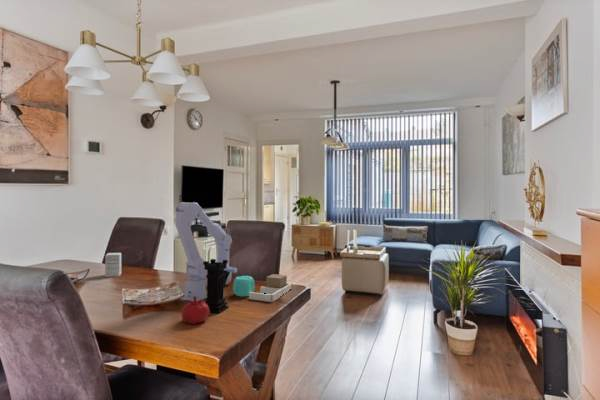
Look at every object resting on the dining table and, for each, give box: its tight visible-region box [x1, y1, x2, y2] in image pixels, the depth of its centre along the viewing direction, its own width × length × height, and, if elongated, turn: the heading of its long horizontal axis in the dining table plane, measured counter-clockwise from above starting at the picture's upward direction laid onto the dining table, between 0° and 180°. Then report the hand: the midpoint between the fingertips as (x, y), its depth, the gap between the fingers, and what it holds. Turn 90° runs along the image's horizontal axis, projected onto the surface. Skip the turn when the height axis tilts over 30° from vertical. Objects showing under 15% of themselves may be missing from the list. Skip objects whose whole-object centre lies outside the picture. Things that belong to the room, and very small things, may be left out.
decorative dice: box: [232, 275, 256, 298], centre depth 168 cm, size 8×8×8 cm
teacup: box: [225, 272, 233, 286], centre depth 187 cm, size 14×11×8 cm
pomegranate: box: [180, 296, 211, 325], centre depth 131 cm, size 10×10×9 cm
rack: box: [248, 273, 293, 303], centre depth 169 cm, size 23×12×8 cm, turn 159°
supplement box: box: [104, 252, 122, 278], centre depth 203 cm, size 7×7×13 cm
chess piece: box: [203, 258, 229, 315], centre depth 144 cm, size 8×8×20 cm
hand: (222, 286), depth 172 cm, fingers closed
